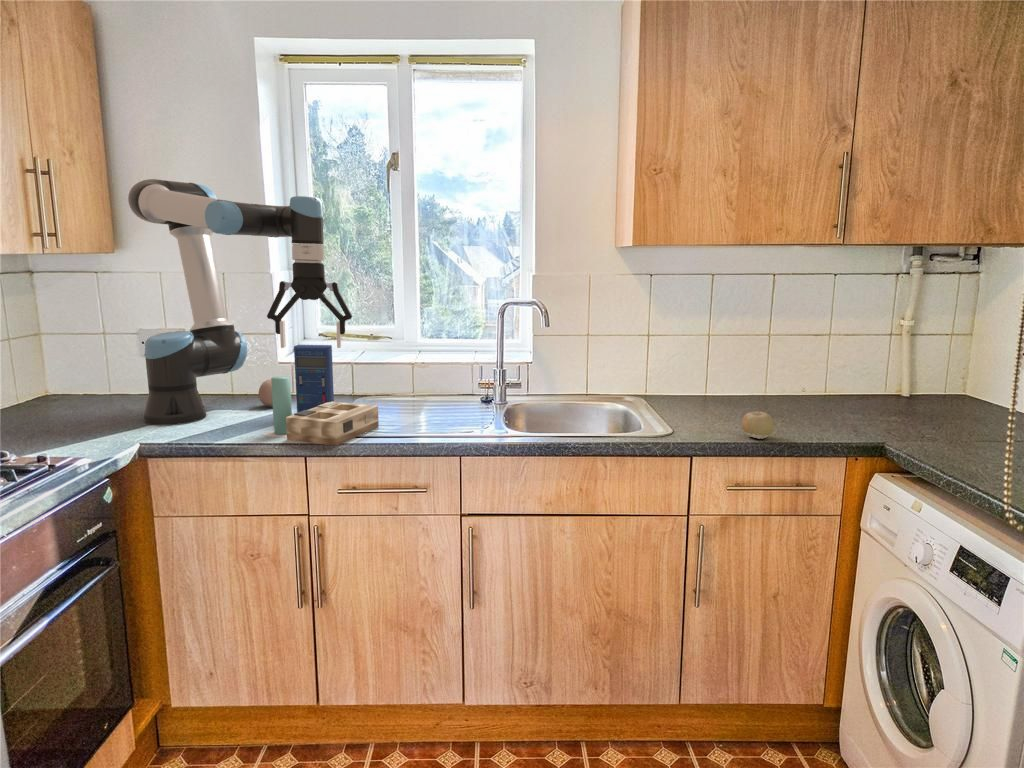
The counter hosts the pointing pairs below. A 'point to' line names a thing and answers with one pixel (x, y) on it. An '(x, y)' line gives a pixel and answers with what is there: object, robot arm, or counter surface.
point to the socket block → (332, 423)
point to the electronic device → (313, 376)
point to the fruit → (757, 423)
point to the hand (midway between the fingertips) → (311, 347)
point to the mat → (271, 433)
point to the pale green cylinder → (281, 403)
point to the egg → (266, 393)
